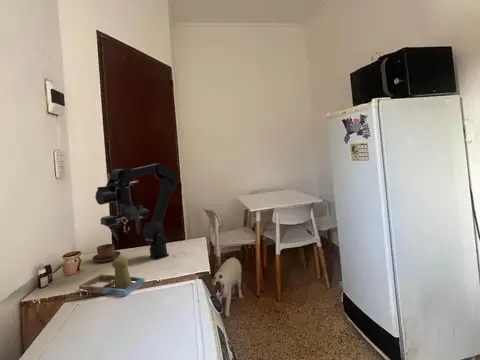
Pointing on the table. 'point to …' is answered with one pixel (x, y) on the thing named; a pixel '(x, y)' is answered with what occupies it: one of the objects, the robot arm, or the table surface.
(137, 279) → the two-pocket rack
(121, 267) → the olive green tapered cylinder
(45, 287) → the table surface
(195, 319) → the table surface
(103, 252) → the brown hat
